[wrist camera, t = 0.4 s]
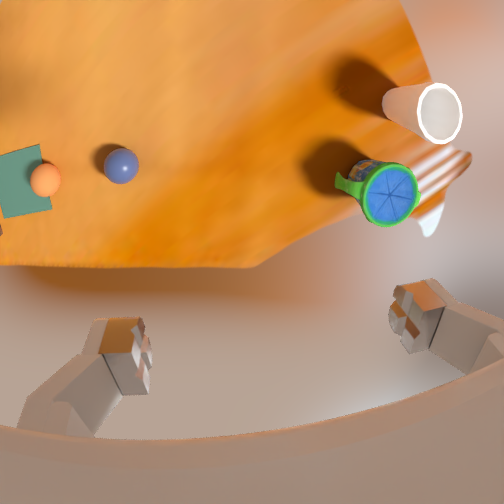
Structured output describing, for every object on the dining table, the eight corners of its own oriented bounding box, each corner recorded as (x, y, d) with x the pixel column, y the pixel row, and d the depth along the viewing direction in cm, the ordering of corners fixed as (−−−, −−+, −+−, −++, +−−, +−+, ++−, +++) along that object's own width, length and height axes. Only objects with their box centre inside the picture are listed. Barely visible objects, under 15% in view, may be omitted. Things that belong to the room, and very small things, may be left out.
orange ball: (36, 163, 45) (21, 171, 40) (62, 157, 46) (49, 165, 41) (42, 193, 48) (28, 204, 43) (68, 188, 49) (56, 198, 44)
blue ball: (106, 148, 47) (96, 155, 42) (139, 143, 47) (132, 149, 42) (112, 180, 49) (102, 190, 44) (143, 176, 50) (137, 185, 45)
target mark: (-10, 159, 43) (-10, 159, 42) (39, 144, 44) (38, 144, 44) (4, 218, 48) (4, 218, 48) (52, 208, 50) (51, 209, 49)
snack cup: (318, 196, 56) (339, 218, 47) (335, 139, 51) (361, 150, 43) (388, 213, 60) (416, 235, 51) (405, 163, 55) (437, 178, 46)
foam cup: (369, 83, 47) (412, 86, 36) (411, 77, 47) (457, 80, 36) (380, 134, 52) (422, 149, 40) (419, 125, 52) (464, 138, 40)
